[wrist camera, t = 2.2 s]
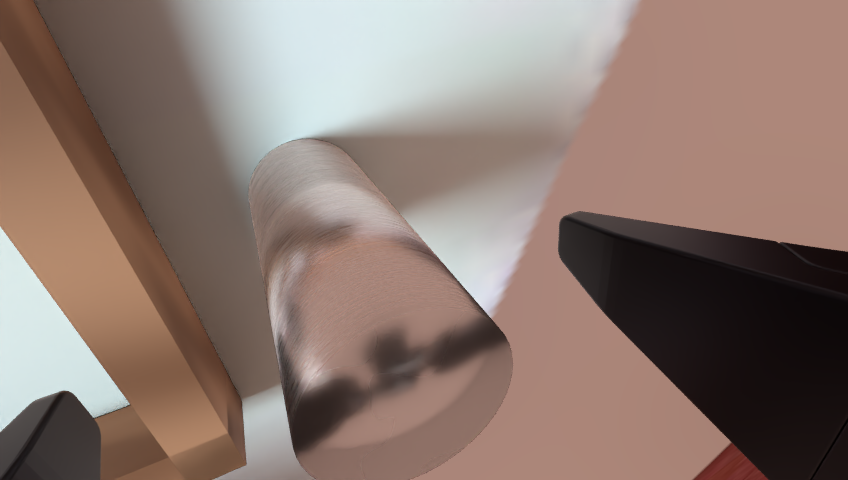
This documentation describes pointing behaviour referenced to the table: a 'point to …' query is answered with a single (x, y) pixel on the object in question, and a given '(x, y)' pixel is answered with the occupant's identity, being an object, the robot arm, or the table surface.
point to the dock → (107, 270)
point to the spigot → (367, 324)
